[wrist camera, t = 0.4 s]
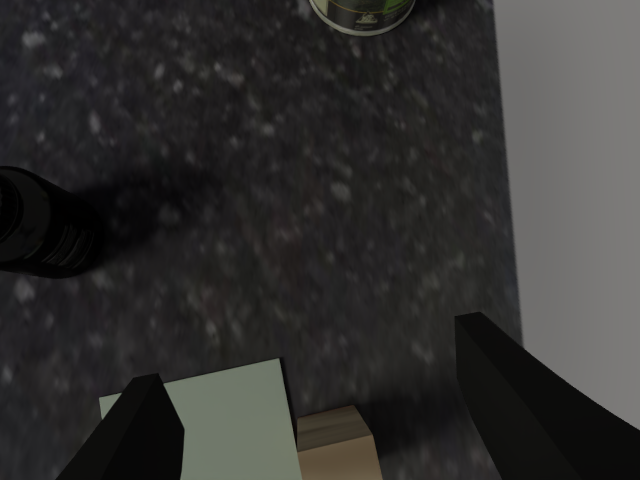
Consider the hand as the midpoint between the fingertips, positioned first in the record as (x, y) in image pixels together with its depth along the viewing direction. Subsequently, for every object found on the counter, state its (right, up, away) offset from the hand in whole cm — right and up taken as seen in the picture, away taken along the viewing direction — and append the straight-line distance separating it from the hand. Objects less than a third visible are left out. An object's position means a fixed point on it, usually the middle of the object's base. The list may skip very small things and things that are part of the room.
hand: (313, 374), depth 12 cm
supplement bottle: (-21, +3, +28) cm, 35 cm away
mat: (-8, -14, +25) cm, 30 cm away
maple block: (+1, -12, +26) cm, 29 cm away
